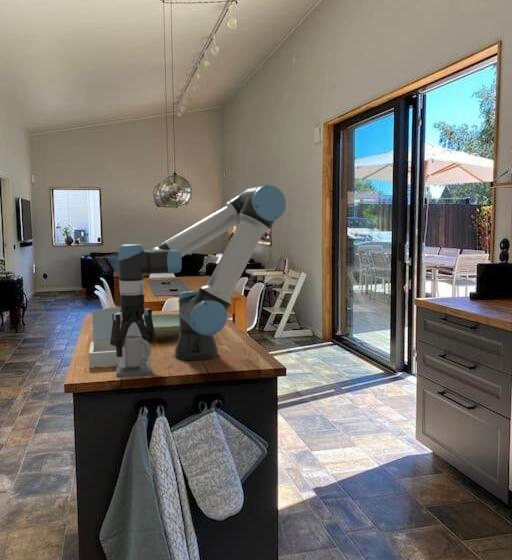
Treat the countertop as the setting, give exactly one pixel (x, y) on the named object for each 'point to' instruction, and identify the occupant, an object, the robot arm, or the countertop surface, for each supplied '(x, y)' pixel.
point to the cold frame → (105, 339)
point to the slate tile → (134, 370)
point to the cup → (135, 350)
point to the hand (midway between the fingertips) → (134, 363)
